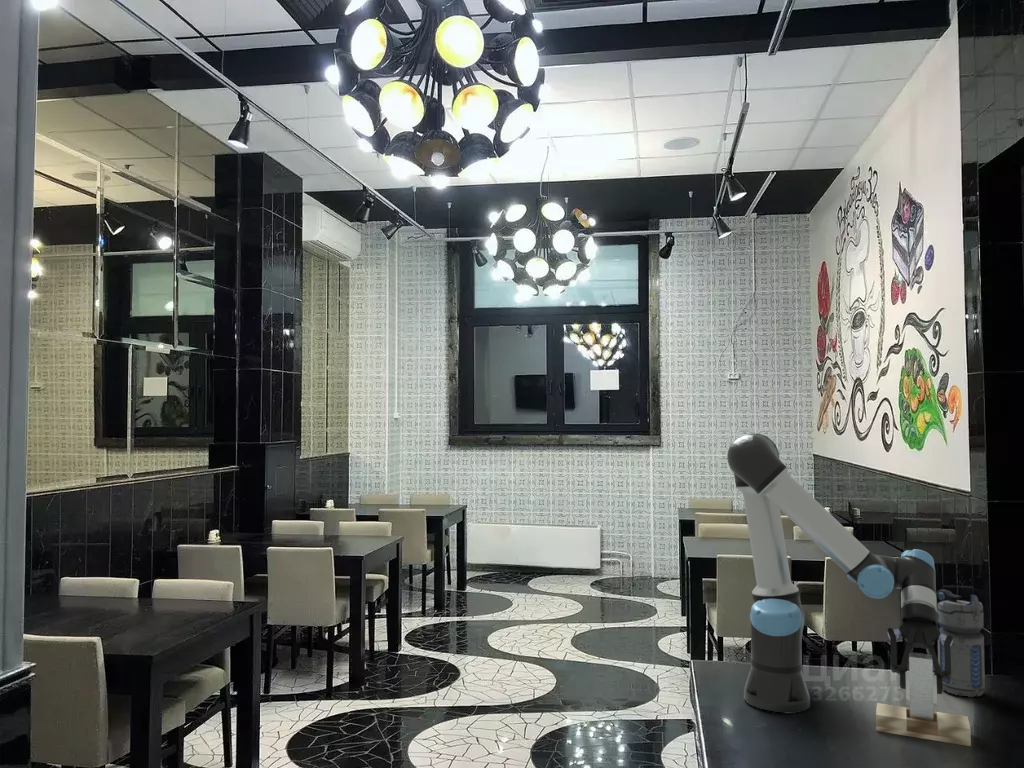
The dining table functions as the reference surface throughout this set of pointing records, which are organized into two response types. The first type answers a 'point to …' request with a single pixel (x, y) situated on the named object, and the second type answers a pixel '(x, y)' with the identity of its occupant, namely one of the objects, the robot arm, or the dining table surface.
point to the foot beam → (923, 725)
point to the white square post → (921, 686)
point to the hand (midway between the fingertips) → (921, 704)
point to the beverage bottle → (962, 643)
